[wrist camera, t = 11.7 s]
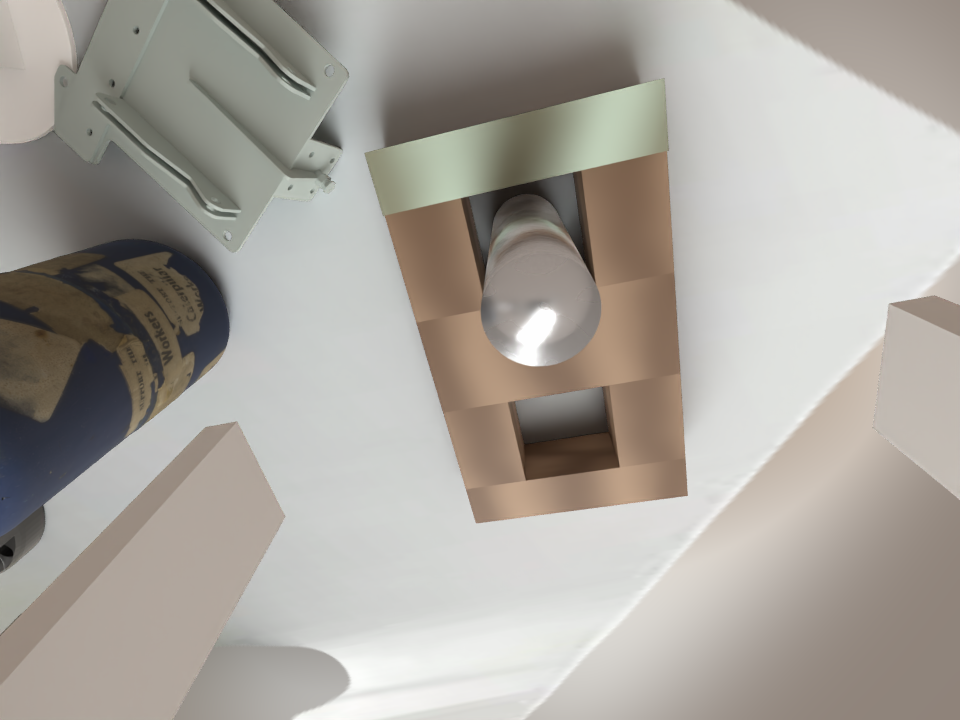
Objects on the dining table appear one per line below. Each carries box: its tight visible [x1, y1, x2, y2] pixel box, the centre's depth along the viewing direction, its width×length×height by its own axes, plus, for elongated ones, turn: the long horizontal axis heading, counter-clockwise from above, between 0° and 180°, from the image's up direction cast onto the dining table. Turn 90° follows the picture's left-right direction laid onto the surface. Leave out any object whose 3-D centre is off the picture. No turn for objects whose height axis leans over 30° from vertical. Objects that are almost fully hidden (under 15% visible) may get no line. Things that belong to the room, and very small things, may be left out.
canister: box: [0, 239, 229, 537], centre depth 24 cm, size 10×10×18 cm
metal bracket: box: [54, 0, 349, 252], centre depth 26 cm, size 14×6×15 cm
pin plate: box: [365, 78, 688, 523], centre depth 30 cm, size 14×24×4 cm, turn 13°
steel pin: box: [481, 194, 601, 366], centre depth 23 cm, size 4×4×14 cm
